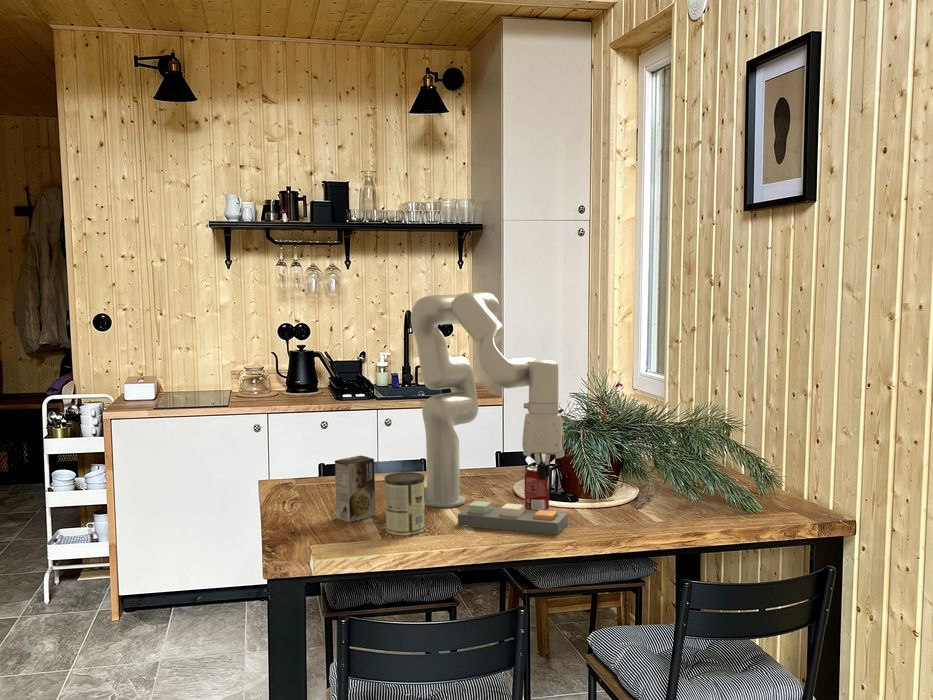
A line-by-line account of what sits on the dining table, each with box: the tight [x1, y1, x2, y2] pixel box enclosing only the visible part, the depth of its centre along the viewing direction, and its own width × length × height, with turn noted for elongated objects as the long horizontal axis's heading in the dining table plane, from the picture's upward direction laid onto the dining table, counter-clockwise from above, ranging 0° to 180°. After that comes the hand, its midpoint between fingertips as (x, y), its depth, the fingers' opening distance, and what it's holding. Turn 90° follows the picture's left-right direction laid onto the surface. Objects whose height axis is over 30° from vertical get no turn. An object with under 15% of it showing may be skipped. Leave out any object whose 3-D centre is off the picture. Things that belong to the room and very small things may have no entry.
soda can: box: [524, 465, 550, 511], centre depth 246 cm, size 7×7×12 cm
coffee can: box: [384, 471, 426, 535], centre depth 228 cm, size 10×10×14 cm
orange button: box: [534, 510, 558, 520], centre depth 229 cm, size 5×5×2 cm
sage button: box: [468, 500, 493, 515], centre depth 235 cm, size 5×5×2 cm
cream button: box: [500, 502, 525, 517], centre depth 232 cm, size 5×5×2 cm
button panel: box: [457, 506, 568, 536], centre depth 232 cm, size 27×10×3 cm, turn 70°
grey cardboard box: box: [334, 455, 377, 523], centre depth 241 cm, size 9×6×16 cm
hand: (543, 478), depth 228 cm, fingers closed
